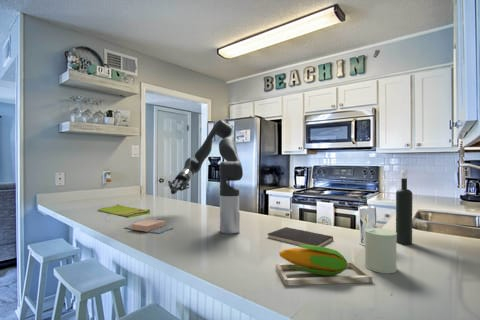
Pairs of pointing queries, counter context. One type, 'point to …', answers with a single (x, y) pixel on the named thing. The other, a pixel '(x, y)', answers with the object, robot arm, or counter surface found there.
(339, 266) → the corn
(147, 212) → the dish towel
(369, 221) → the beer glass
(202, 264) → the counter surface
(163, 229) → the mat
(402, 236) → the wine bottle
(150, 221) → the tile
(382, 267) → the can
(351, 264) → the corn rest
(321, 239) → the hardcover book
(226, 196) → the robot arm
